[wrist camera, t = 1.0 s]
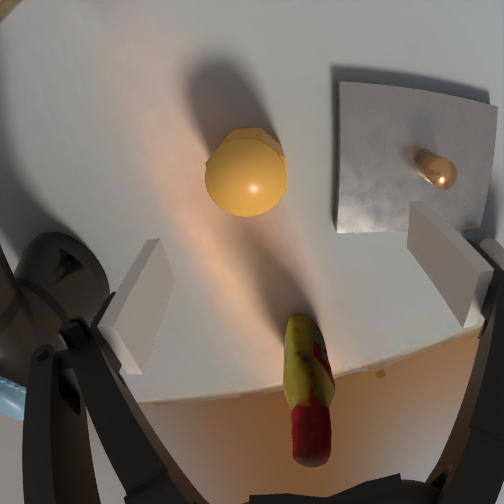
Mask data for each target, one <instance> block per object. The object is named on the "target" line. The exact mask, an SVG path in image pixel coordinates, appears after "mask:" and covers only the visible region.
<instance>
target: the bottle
mask: <svg viewBox="0 0 504 504" xmlns="http://www.w3.org/2000/svg"><path fill="white" fill-rule="evenodd" d="M334 387H335V385H334V381H333V376H332V371H331V367H330V364H329V361H328V356H327V351H326V346H325V342H324V339H323V336H322V333H321V331H320V330H319V328H318V326H317V325H316V324H315V323H314V322H313V321H312V320H311V319H309V318H308V317H306V316H304V315H294V316H292V317H291V318H290V319H289V320H288V325H287V328H286V335H285V343H284V373H283V388H284V392H285V396H286V398H287V401H288V404H289V406H290V408H291V421H292V439H293V458H294V460H295V461H296V462H298V463H299V464H301V465H303V466H306V467H317V466H320V465H323V464H325V463H326V462H327V461H328V459H329V457H330V453H331V422H330V414H329V407H330V404H331V401H332V399H333V396H334V391H335V388H334Z"/></svg>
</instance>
